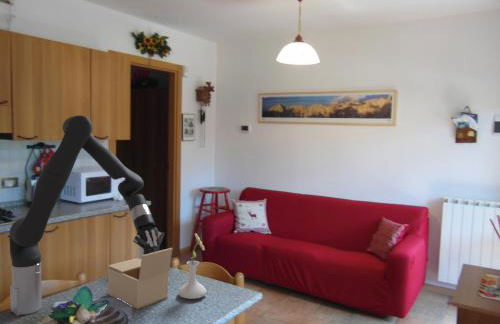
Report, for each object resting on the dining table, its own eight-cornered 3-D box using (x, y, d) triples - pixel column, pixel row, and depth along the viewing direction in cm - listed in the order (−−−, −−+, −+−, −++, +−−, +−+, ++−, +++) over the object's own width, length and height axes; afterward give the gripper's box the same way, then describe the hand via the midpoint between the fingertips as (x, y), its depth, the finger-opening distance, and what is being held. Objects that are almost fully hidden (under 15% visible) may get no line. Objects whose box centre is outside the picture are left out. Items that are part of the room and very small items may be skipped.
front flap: (138, 279, 148) (139, 280, 147) (142, 255, 146) (143, 256, 145) (167, 270, 158) (168, 271, 158) (171, 247, 156) (172, 248, 156)
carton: (137, 309, 149) (137, 280, 148) (108, 294, 161) (108, 267, 161) (167, 298, 159) (167, 271, 159) (137, 285, 172) (138, 259, 171)
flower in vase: (201, 303, 156) (202, 239, 154) (173, 300, 158) (174, 237, 156) (211, 290, 168) (212, 231, 166) (185, 287, 171) (186, 229, 169)
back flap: (122, 272, 155) (122, 271, 154) (108, 266, 161) (108, 265, 161) (151, 264, 165) (151, 263, 165) (137, 259, 171) (137, 257, 171)
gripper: (129, 215, 153) (143, 254, 145) (160, 211, 162) (175, 248, 153) (123, 225, 158) (136, 265, 149) (154, 221, 166) (168, 258, 158)
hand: (156, 256), depth 151 cm, fingers closed
